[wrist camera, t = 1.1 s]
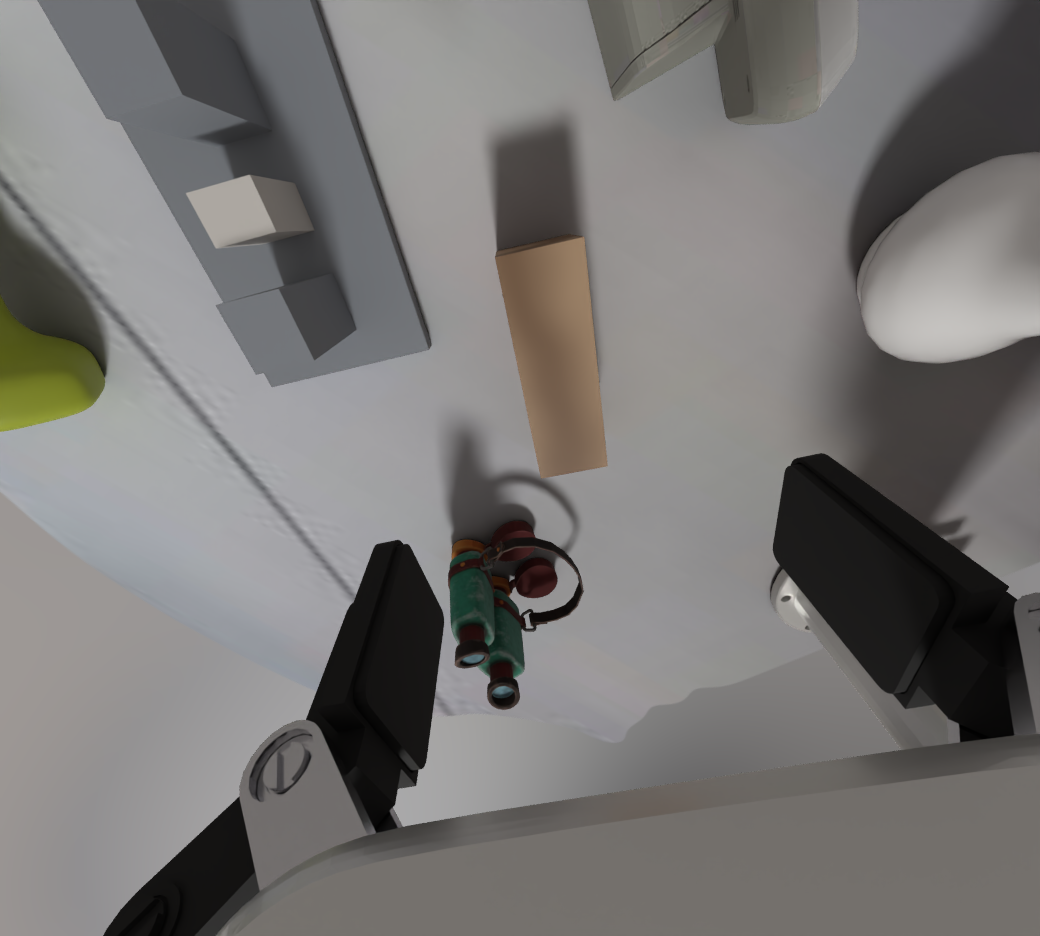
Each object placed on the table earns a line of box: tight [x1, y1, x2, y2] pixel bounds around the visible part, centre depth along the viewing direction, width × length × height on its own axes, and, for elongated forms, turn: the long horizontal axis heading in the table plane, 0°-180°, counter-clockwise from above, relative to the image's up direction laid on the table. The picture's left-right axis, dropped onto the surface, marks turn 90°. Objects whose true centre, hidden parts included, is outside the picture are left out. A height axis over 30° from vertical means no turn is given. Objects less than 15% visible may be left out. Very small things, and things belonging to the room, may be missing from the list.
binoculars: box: [448, 521, 584, 710], centre depth 29 cm, size 9×11×10 cm
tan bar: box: [495, 234, 608, 478], centre depth 23 cm, size 4×12×5 cm, turn 11°
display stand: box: [38, 0, 431, 387], centre depth 18 cm, size 10×16×7 cm, turn 13°
